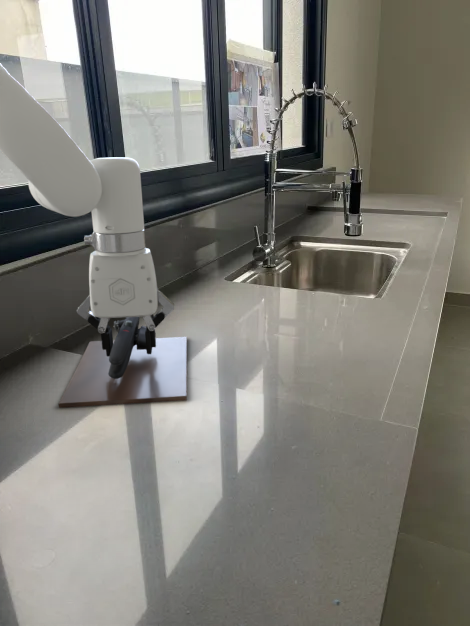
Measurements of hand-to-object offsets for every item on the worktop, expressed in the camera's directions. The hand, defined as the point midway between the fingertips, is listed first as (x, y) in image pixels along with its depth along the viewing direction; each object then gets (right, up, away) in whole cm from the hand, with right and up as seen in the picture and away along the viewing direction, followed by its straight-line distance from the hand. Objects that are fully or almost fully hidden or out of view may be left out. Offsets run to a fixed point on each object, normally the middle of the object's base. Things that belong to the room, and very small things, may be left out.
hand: (130, 351), depth 81 cm
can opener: (0, -1, 0) cm, 1 cm away
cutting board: (0, -4, +1) cm, 4 cm away
